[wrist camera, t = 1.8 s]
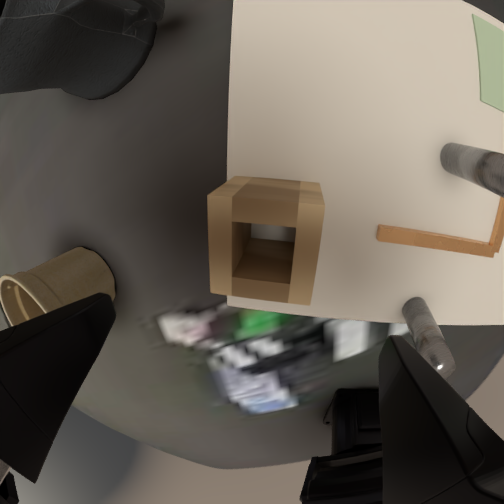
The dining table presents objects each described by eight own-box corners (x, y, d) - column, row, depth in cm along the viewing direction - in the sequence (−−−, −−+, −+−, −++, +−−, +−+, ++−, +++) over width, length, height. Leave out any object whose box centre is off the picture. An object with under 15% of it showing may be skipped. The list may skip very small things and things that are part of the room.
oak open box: (310, 259, 18) (310, 305, 13) (234, 251, 18) (210, 292, 14) (319, 183, 15) (325, 205, 11) (234, 175, 16) (207, 195, 12)
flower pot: (119, 332, 25) (74, 391, 18) (55, 279, 24) (3, 323, 17) (144, 272, 21) (80, 340, 13) (67, 210, 20) (-7, 251, 13)
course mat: (506, 322, 17) (509, 325, 16) (228, 302, 21) (226, 307, 20) (551, 62, 6) (555, 62, 5) (237, -37, 10) (235, -41, 9)
